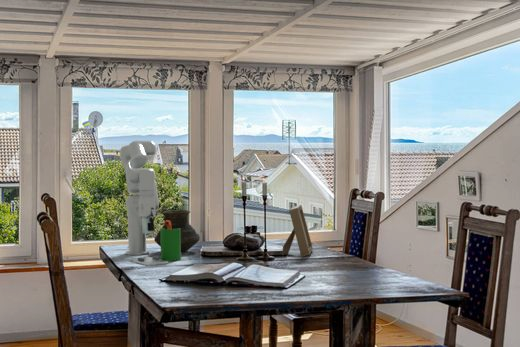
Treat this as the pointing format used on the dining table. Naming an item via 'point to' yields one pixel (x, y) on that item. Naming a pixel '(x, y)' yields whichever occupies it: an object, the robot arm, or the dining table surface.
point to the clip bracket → (148, 260)
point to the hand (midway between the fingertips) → (147, 229)
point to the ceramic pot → (180, 221)
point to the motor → (170, 243)
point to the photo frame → (298, 233)
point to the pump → (145, 226)
